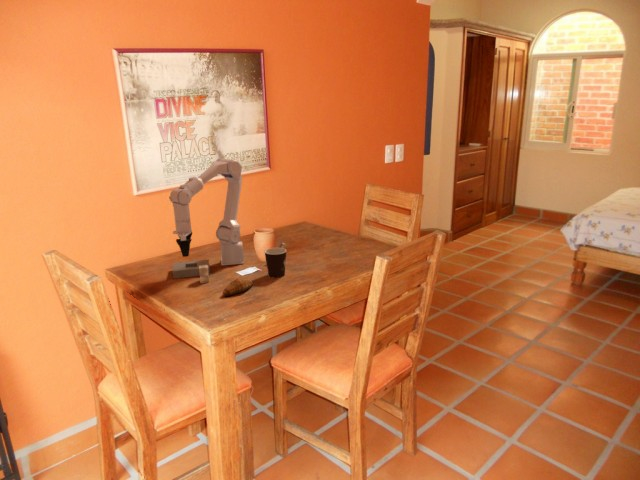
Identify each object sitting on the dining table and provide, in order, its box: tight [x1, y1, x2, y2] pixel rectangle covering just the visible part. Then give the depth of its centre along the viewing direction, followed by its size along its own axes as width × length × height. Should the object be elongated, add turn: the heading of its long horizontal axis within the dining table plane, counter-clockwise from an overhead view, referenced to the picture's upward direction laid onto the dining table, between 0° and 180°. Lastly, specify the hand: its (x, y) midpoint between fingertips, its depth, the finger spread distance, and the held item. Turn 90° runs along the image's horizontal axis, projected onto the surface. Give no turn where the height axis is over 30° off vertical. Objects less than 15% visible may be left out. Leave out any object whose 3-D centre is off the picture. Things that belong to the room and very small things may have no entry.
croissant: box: [222, 278, 254, 297], centre depth 175 cm, size 14×7×5 cm, turn 139°
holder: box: [172, 259, 210, 279], centre depth 196 cm, size 14×11×3 cm
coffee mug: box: [264, 247, 287, 279], centre depth 191 cm, size 12×9×10 cm
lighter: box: [278, 242, 286, 249], centre depth 206 cm, size 7×2×8 cm, turn 131°
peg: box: [199, 265, 210, 284], centre depth 186 cm, size 3×3×6 cm
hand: (186, 253), depth 189 cm, fingers open, 7 cm apart
